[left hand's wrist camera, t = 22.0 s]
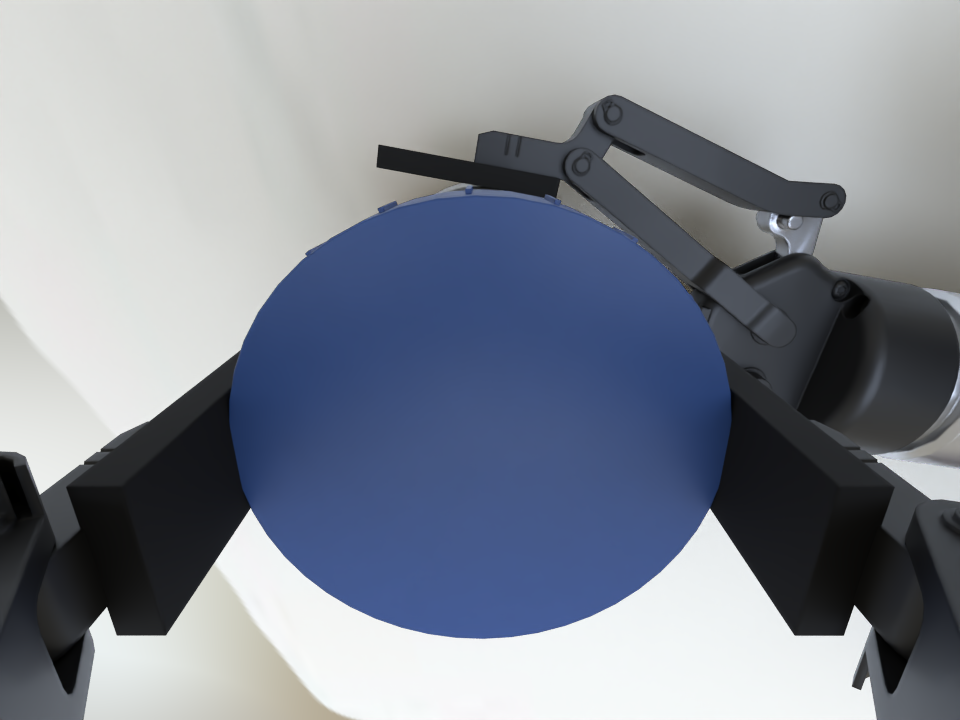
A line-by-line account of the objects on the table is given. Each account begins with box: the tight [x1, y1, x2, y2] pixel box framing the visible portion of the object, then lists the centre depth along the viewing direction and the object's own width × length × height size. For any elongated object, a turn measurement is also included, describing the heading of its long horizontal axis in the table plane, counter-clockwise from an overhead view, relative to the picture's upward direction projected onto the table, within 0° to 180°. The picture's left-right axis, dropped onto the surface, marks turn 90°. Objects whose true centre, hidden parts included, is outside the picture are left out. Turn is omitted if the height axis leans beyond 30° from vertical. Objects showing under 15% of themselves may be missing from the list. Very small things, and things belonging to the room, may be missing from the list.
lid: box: [229, 185, 732, 639], centre depth 11 cm, size 10×10×2 cm
